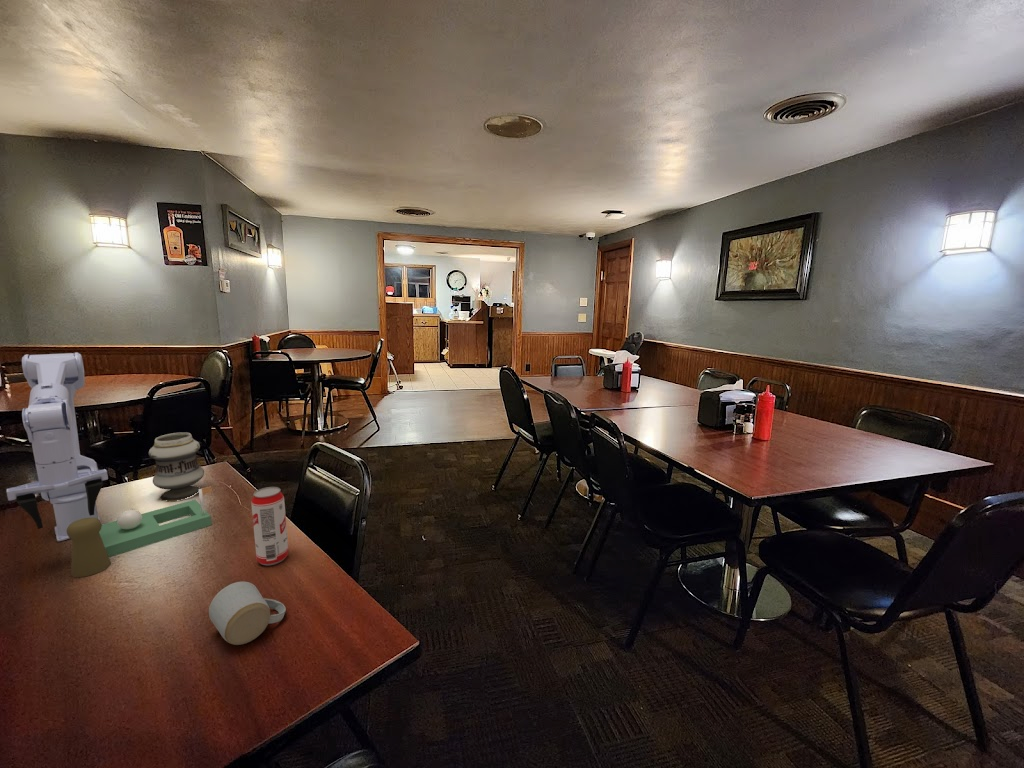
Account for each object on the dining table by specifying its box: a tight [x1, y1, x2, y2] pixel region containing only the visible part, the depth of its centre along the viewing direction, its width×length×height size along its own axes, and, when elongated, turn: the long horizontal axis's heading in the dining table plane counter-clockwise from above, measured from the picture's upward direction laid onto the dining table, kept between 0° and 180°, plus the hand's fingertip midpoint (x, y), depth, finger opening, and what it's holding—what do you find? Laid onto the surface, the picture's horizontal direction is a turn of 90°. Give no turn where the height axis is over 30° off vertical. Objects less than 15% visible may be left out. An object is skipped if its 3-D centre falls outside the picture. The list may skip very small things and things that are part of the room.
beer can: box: [250, 486, 290, 567], centre depth 94 cm, size 6×6×16 cm
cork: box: [66, 517, 112, 578], centre depth 90 cm, size 6×6×11 cm
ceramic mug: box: [208, 581, 287, 646], centre depth 75 cm, size 11×8×8 cm
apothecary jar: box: [148, 431, 205, 502], centre depth 126 cm, size 12×12×18 cm
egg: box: [116, 509, 142, 530], centre depth 103 cm, size 4×4×4 cm
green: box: [99, 499, 213, 558], centre depth 106 cm, size 14×21×2 cm, turn 139°
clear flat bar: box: [198, 486, 213, 516], centre depth 110 cm, size 1×3×7 cm, turn 139°
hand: (66, 520), depth 92 cm, fingers open, 7 cm apart
